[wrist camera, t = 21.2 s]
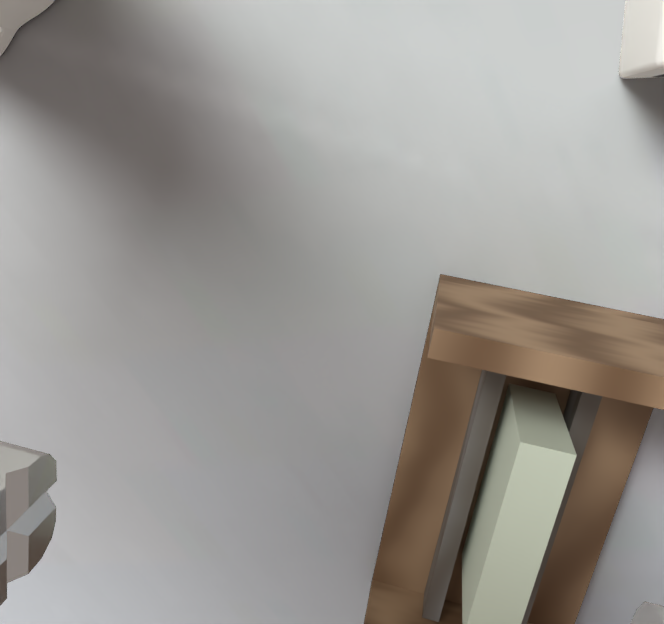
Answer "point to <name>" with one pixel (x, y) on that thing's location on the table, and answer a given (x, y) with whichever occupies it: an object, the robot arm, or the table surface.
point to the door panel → (515, 507)
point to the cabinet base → (479, 430)
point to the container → (642, 40)
